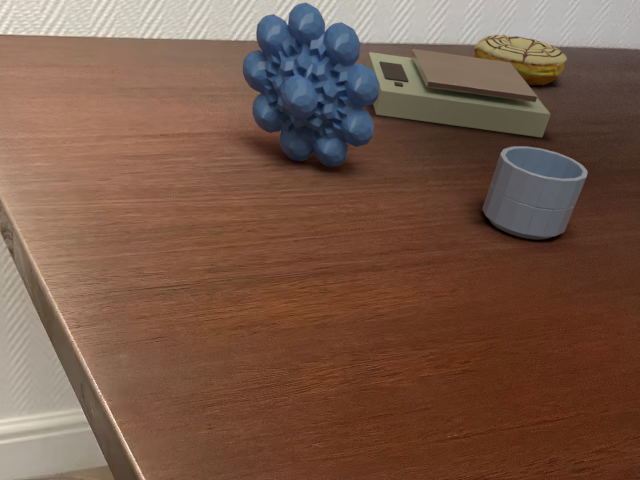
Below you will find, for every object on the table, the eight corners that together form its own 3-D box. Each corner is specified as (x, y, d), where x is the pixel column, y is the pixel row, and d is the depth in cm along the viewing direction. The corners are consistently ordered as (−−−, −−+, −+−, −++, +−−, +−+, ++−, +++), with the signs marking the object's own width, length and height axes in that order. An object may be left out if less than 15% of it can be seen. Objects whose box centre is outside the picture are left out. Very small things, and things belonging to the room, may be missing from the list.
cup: (550, 211, 66) (573, 152, 63) (572, 248, 61) (599, 185, 58) (473, 201, 66) (493, 141, 63) (490, 237, 61) (511, 173, 58)
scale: (510, 94, 92) (518, 71, 91) (542, 137, 81) (551, 111, 80) (364, 73, 91) (369, 49, 90) (375, 114, 80) (381, 88, 79)
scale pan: (508, 68, 90) (510, 62, 89) (535, 102, 80) (537, 96, 80) (410, 54, 89) (412, 48, 89) (426, 87, 80) (428, 80, 79)
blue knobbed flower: (213, 158, 66) (230, -1, 59) (244, 135, 71) (263, -14, 64) (348, 196, 63) (383, 34, 56) (370, 169, 69) (405, 17, 61)
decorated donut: (511, 60, 105) (521, 29, 103) (575, 86, 99) (587, 54, 96) (453, 62, 100) (462, 30, 98) (517, 90, 94) (528, 56, 91)
